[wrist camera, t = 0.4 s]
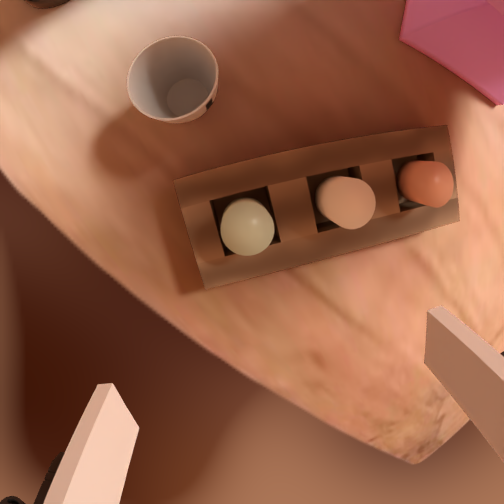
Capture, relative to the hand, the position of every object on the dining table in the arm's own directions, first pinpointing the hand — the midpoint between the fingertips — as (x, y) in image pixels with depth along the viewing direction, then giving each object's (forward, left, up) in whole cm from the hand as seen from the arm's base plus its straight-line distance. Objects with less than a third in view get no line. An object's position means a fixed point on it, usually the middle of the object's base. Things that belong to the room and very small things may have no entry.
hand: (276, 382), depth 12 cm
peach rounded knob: (-2, +10, -23) cm, 26 cm away
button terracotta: (-2, +20, -22) cm, 30 cm away
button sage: (-2, 0, -22) cm, 22 cm away
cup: (-17, -3, -28) cm, 33 cm away
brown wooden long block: (-2, +10, -27) cm, 29 cm away
